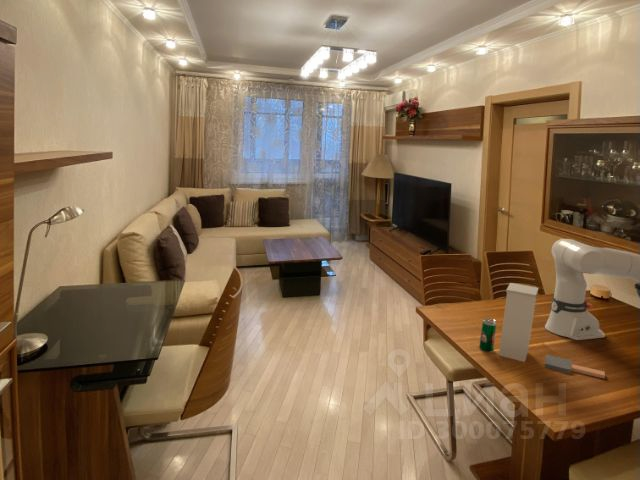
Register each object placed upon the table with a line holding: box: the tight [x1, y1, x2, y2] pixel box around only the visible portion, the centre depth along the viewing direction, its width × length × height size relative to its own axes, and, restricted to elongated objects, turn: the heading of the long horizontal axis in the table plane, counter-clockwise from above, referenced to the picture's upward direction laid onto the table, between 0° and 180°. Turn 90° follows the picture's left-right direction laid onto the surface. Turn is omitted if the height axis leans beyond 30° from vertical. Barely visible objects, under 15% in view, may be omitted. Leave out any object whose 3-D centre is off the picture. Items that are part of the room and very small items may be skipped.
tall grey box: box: [498, 282, 539, 363], centre depth 156 cm, size 10×10×26 cm
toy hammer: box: [544, 354, 606, 379], centre depth 149 cm, size 18×8×2 cm, turn 60°
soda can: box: [478, 317, 497, 353], centre depth 161 cm, size 5×5×12 cm
